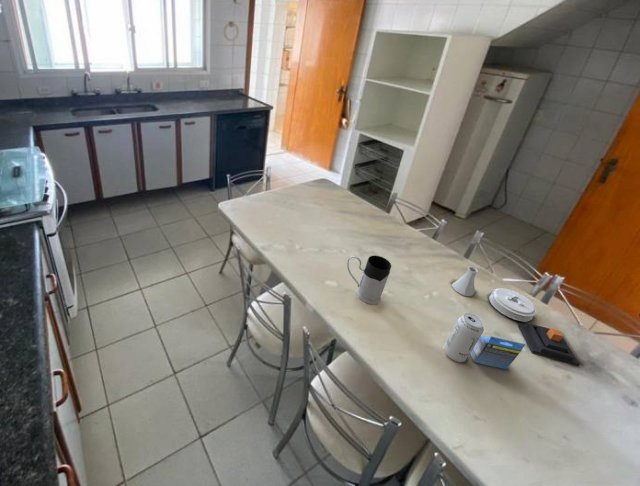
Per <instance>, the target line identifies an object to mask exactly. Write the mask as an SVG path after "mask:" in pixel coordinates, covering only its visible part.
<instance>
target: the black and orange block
mask: <svg viewBox="0 0 640 486" xmlns="http://www.w3.org/2000/svg"><path fill="white" fill-rule="evenodd" d="M539 326H540V325H538V327H537V329H536V330H535V331H536V333H537V334H538V336H539V338H540V340H541V341H542V343H543V345H544V347H547V348H550V349H554V350H557V351H561V352H564V353H566V351H567V350H568V349H567V347H566V346H565V344H564V342H563V341H562V337H563V338H564V335H563V333H562V332H561V331H560V330H559V329H556V328H553V327H550V328H549V329H546V328H547V327H546V328H542V327H543V326H542V327H539Z"/></svg>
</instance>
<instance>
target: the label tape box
mask: <svg viewBox="0 0 640 486" xmlns="http://www.w3.org/2000/svg"><path fill="white" fill-rule="evenodd" d="M525 346H526V343H522V342H517V341H514V340H509V339H505V338H500V337H498V336H497V337H496V336H492V335H490V337H488V336H482V335H481V336H480V338H479V340H478V341H477V343H476V344H475V346H474V348H473V349H472V351H471V353H470V354H469V355H470V356H471V358H472V361H473V362H474V363H477V364H481V365H485V366H490V367H495V368H499V369H503V370H507V369H508V368H509V367H510V366H511V365H512V364H513V362H514V361H515V360H516V358H517V357H518V356H519V355H520V353H521V352H522V350H523V349H524V347H525Z"/></svg>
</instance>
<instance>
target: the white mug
mask: <svg viewBox="0 0 640 486" xmlns="http://www.w3.org/2000/svg"><path fill="white" fill-rule="evenodd" d="M352 258H353V259H357V260H358V262H359V266H358V267H359V270H360V271H362V274H361V279H360V280H359V282H358V280H357V278H356V277H355V276H354V275H353V273H352V272H351V270H350V266H349V263H350V259H352ZM346 266H347V267H346V268H347V271H348V273H349V275H350V276H351V278H352V279H353V280H354V281H355V283H356V285H357V288H356V289H355V295H356V297H357V298H358V299H359V300H360V301H362V302H363V303H365V304H368V305H373V306H374V305H378V304H380V303H381V302H382V295H383V292H384V289H385V287H386V284H387V281H388V279H389V276H390V274H391V270H392V264H391V262H390V261H389V260H388V259H387V258H385V257H383V256H380V255H370V256H369V257H368V258H367V261H366V264H365V267H364V269H363V268H362V267H361V266H362V260H361V259H360V257H358V256H355V255H352V256H349V258H348V259H347V263H346Z"/></svg>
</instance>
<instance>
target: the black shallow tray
mask: <svg viewBox="0 0 640 486" xmlns="http://www.w3.org/2000/svg"><path fill="white" fill-rule="evenodd" d="M538 326H539V327H542V328H546V329H550V328H548V327H545V326H541V325H538V324H534V323H530V322H527V324H525V323H520V322H519V323H518V324H517V327H518V329H519V331H520V333H521V335H522V337H523V339H524V340H525V342H526V343H525V344H527V346H528V348H529V350H530V352H531V354H535V355H538V356H542V357H544V358H548V359H552V360H555V361H559V362H562V363H565V364H569V365H572V366H576V367H579V366H580V365H581V363H580V361H579V360H578V359H577V357H576V356H575V355H576V354H574V352H573V351H572V348H570V346H569V344H568V343H567V341H566V340H565V338H564V336H563V337H562V341H563V342H564V344H565V346H566V347H567V349H568V350H567V351H566V353H564V352H561V351H557V350H554V349H550V348H547V347H544V345H543V343H542V341H541V340H540V338H539V336H538V334H537V333H536V331H535V330H536V329H537V327H538Z"/></svg>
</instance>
